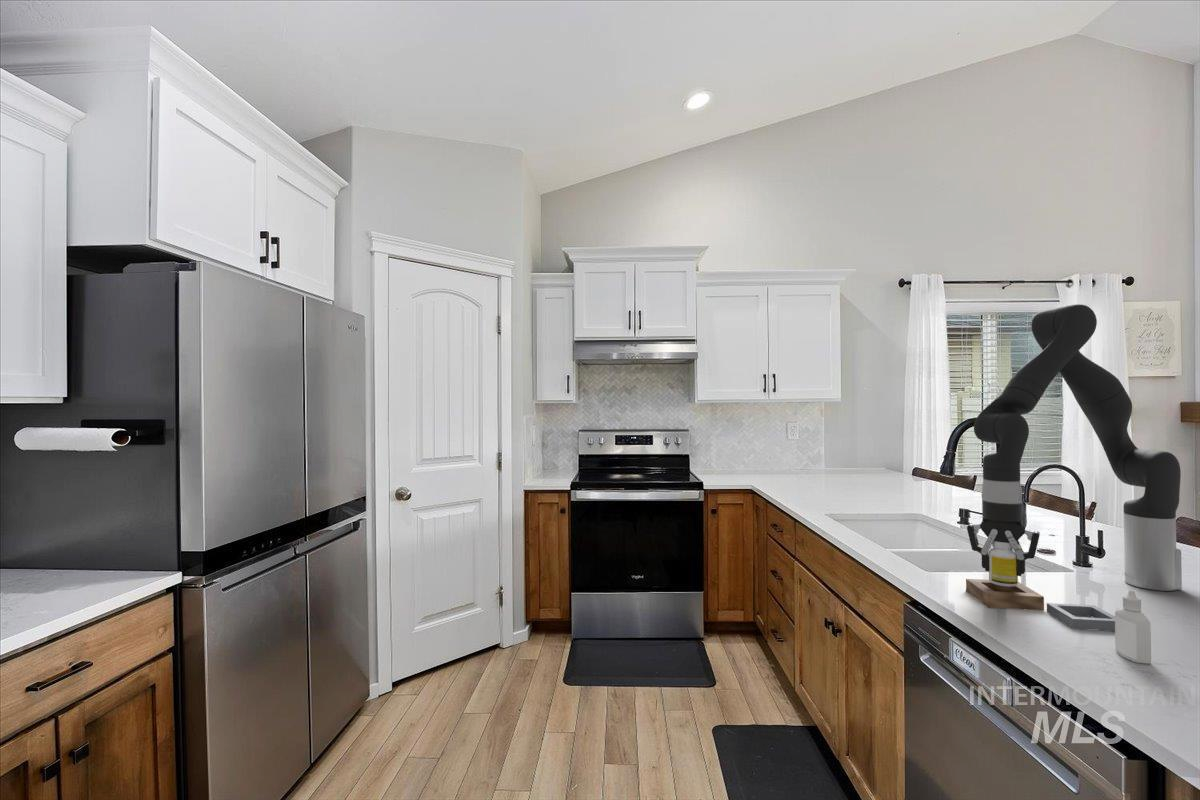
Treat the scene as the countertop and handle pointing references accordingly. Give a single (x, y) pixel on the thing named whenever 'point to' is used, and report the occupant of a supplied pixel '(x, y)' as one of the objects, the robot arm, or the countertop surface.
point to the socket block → (1004, 595)
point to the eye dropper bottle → (1132, 631)
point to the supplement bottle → (1003, 565)
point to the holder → (1069, 612)
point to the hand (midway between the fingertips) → (1003, 572)
